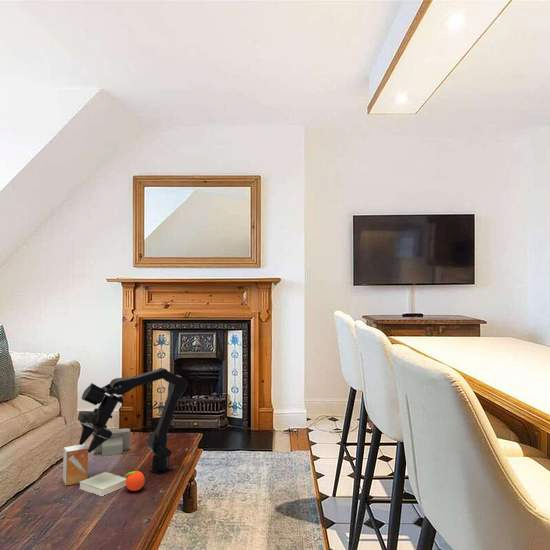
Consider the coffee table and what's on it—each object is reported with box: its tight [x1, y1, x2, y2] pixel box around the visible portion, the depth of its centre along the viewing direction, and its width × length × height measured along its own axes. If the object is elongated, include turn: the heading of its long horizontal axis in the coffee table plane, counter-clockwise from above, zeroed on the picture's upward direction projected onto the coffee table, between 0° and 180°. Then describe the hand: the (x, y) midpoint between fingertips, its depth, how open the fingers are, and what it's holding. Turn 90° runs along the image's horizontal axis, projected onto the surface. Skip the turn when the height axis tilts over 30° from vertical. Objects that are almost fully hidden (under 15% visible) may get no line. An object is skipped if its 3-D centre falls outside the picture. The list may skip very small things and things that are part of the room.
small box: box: [62, 443, 89, 486], centre depth 189 cm, size 8×6×13 cm
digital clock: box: [93, 428, 131, 457], centre depth 222 cm, size 16×9×11 cm, turn 99°
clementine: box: [123, 470, 145, 492], centre depth 180 cm, size 8×7×7 cm
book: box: [79, 471, 127, 497], centre depth 182 cm, size 12×13×3 cm
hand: (84, 448), depth 184 cm, fingers open, 9 cm apart
